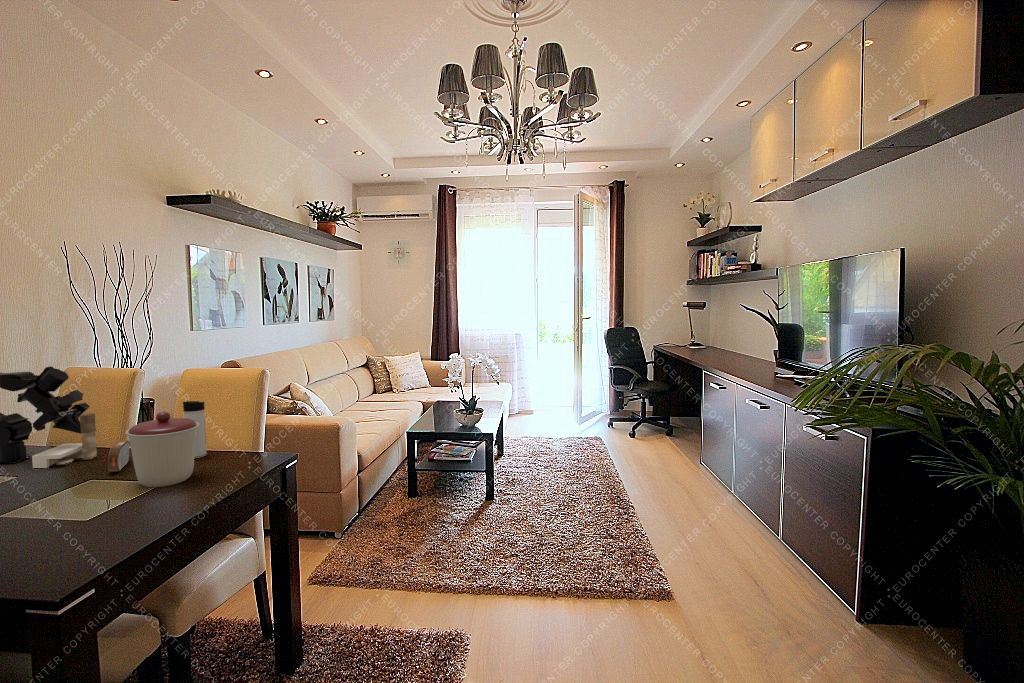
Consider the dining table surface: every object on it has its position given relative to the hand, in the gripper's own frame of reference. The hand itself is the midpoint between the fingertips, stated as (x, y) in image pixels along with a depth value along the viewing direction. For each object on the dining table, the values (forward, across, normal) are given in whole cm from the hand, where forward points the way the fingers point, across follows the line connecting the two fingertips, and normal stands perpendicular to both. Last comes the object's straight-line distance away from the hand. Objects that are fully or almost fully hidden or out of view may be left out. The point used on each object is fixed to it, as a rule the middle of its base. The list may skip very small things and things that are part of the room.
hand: (83, 432), depth 170 cm
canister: (+34, -26, -20) cm, 48 cm away
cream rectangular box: (+3, -2, +10) cm, 11 cm away
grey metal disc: (+4, -5, +9) cm, 11 cm away
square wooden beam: (+5, -3, +8) cm, 9 cm away
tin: (+19, -12, -6) cm, 23 cm away
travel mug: (+32, -3, -19) cm, 37 cm away
